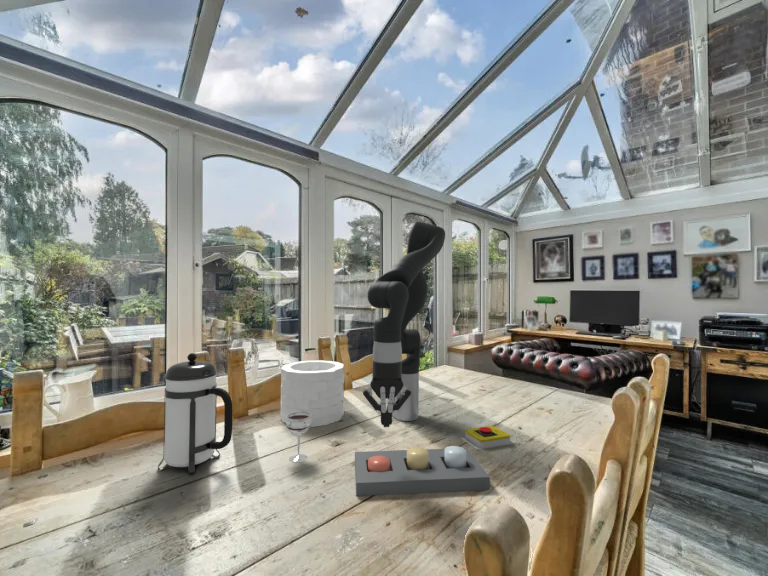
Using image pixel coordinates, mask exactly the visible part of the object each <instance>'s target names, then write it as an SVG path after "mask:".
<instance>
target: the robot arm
mask: <svg viewBox="0 0 768 576" xmlns="http://www.w3.org/2000/svg"><path fill="white" fill-rule="evenodd" d="M445 240H446V231H445V229H444V228H443V227H441V226H438V225H434V224H430V223H426V222H423V221H415V222H413V224H412V226H411V227H410V230H409V234H408V240H407V247H406V248H407V250H406V254H404V255H402V256H401V257H400V258H399V259H397V261H396V262H395V263H394V264H393V265H392V267H391V269H390V270H388V271H386V272H385V273H384V274H383V273H382V275H381V276H379V277H377V278H376V279H375V280H374V281H373V282H372V283H371V285H370V286H369V288H368V290H367V301H368V303H369V304H370V306H372V307H373V308H376V309H386V310H387V309H389V313H388V314H387V316H384V317H378V318H377V319H375V320H374V323H373V346H372V378H371V381H370V385H369V386H368V387H366V388H363V389H362V394H363V397H365V399H366V400H367V402H368V403H369V404H370V405H371V407H372V408H373V409H374V411H378V412H380V423H381V425H382V427H383V428H390V426H391V425H392V424H393V418H394V419H395V420H398V421H402V422H411V421H416V420H418V419H419V408H420V407H419V404H420V403H419V402H420V401H419V400H420V399H419V397H420V396H419V393H420V385H419V384H420V383H419V381H420V363H421V362H420V359H421V344H422V341H421V334H420V331H419V330H418V329H415V328H414V329H412V328H411V329H410V328H409V329H407V326H408V325H409V323H410V322H411V321H412V320H413V319H414V318H415V317H416V316H417V315H418V314H419V313H420V312H421V310H422V309H423V308H424V306H425V304H426V300H427V296H428V290H429V285H428V282H427V279H426V276H425V274H424V272H423V269H424V268H425V267H426V266H427V265H428V264H429V263H430V262H431V261H432V260H433V259H434V258H436V256H437V255H439V253H440V252H441V251H442V248H443V247H444V243H445ZM403 355H407V357H406V358H404V359H402V358H403ZM373 392H374V393H373ZM373 394H376V396H377V397H378V398H379V402H380V403H378V402H377V401H376V399H375V398H374V397H373ZM386 399H387V400H386ZM386 401H387V402H386Z"/></svg>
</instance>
